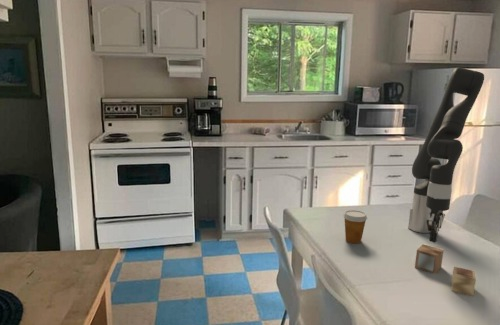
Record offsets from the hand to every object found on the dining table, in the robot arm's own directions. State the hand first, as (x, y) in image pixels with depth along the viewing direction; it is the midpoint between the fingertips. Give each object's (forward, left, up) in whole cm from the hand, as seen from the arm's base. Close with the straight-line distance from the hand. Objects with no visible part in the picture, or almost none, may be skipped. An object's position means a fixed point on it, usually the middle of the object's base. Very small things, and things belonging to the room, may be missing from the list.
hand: (432, 241), depth 135 cm
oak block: (+13, -10, -10) cm, 19 cm away
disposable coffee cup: (-31, +1, -10) cm, 32 cm away
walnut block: (0, +2, -6) cm, 6 cm away
